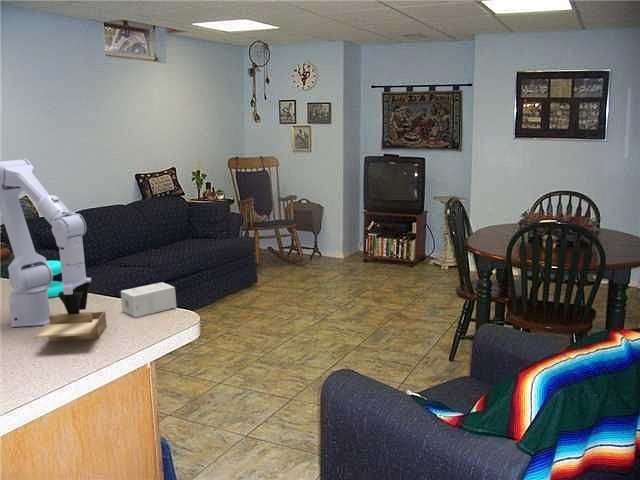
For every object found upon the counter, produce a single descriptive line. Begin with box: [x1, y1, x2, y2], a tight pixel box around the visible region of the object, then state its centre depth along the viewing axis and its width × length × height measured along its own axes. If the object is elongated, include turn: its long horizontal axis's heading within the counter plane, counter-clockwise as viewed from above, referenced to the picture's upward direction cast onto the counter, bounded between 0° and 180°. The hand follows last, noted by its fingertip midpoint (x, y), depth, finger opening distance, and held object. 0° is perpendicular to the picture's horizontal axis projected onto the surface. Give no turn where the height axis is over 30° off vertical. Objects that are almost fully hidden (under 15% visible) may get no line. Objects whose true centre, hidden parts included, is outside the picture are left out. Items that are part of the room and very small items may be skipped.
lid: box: [34, 312, 99, 339], centre depth 163 cm, size 12×10×2 cm
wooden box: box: [48, 311, 107, 342], centre depth 173 cm, size 12×10×4 cm
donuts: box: [31, 260, 63, 299], centre depth 209 cm, size 10×10×10 cm
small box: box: [120, 281, 177, 318], centre depth 191 cm, size 8×6×13 cm
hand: (77, 313), depth 173 cm, fingers open, 7 cm apart
